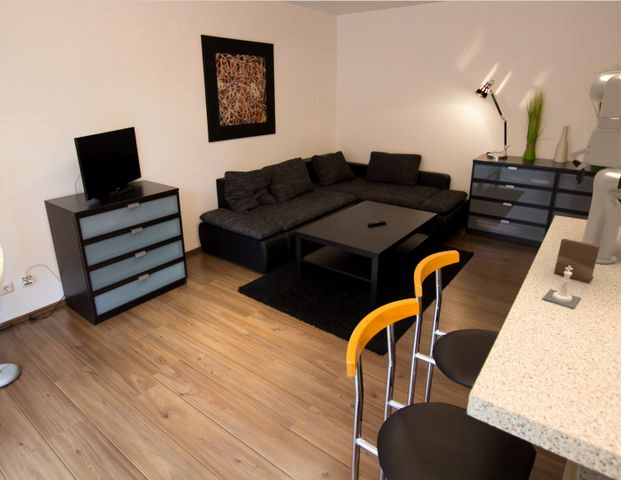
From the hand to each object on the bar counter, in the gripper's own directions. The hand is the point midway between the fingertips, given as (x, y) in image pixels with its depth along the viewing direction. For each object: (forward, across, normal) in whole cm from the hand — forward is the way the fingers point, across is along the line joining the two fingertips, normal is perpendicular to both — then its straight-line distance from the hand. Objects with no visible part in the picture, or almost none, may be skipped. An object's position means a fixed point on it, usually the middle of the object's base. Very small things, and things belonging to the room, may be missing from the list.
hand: (599, 185), depth 117 cm
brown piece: (+31, +2, -3) cm, 31 cm away
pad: (+30, 0, +17) cm, 34 cm away
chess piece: (+30, 0, +17) cm, 34 cm away
